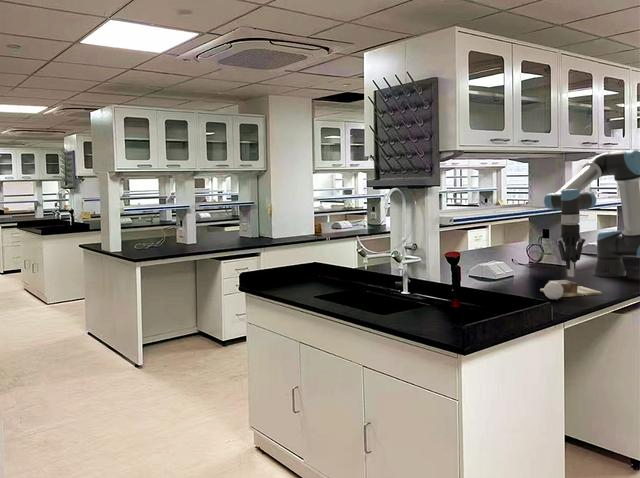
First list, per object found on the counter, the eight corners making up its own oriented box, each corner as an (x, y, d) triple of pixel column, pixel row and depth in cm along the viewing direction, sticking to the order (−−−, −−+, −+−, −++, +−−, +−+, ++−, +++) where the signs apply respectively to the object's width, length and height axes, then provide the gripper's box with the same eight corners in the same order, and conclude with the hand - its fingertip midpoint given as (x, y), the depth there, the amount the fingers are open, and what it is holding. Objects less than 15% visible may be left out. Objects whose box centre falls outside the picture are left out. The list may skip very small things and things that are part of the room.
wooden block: (564, 279, 259) (548, 280, 258) (577, 283, 249) (560, 284, 248) (564, 288, 259) (548, 289, 258) (577, 292, 249) (560, 293, 248)
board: (580, 288, 263) (580, 286, 263) (601, 294, 248) (601, 292, 247) (540, 290, 261) (539, 288, 261) (558, 297, 245) (558, 294, 245)
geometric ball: (549, 305, 241) (537, 291, 242) (555, 296, 247) (543, 282, 247) (563, 299, 236) (551, 284, 236) (570, 289, 241) (557, 275, 241)
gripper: (561, 225, 247) (561, 278, 249) (589, 223, 249) (589, 276, 251) (552, 224, 255) (552, 276, 257) (579, 222, 256) (579, 274, 258)
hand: (570, 276), depth 254 cm, fingers closed
